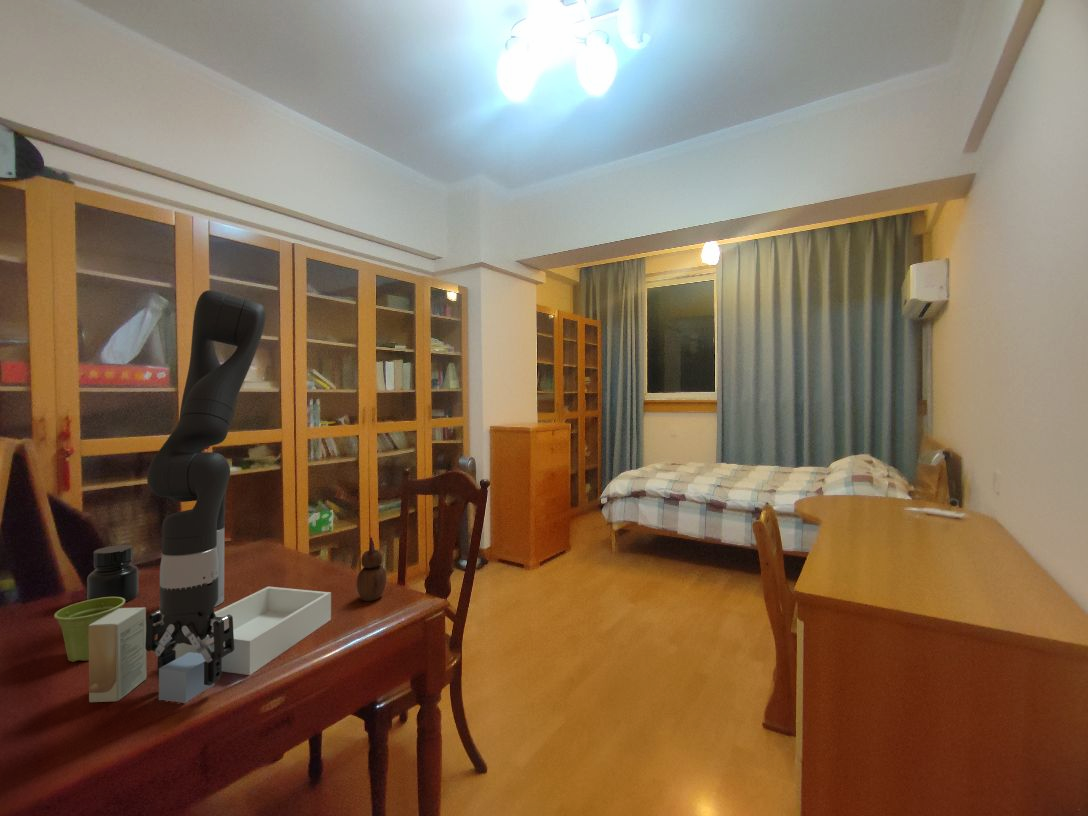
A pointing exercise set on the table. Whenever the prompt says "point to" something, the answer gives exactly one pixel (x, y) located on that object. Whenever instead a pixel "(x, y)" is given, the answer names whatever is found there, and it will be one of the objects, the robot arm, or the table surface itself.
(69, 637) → the plant pot
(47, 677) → the table surface
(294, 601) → the tote
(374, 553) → the wooden figurine
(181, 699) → the cube
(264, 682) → the table surface
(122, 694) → the skincare box
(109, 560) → the ink bottle
